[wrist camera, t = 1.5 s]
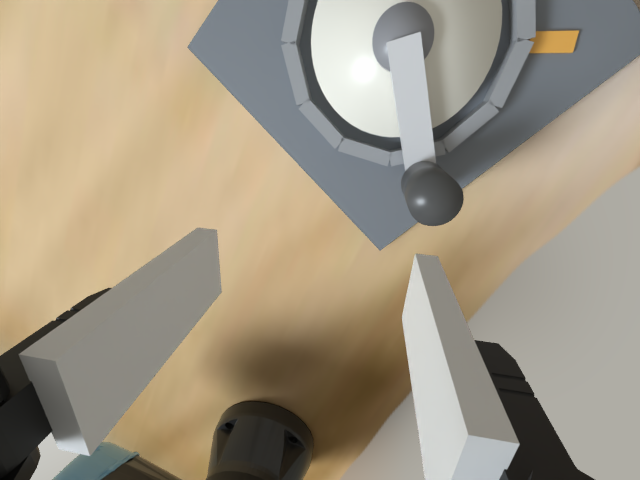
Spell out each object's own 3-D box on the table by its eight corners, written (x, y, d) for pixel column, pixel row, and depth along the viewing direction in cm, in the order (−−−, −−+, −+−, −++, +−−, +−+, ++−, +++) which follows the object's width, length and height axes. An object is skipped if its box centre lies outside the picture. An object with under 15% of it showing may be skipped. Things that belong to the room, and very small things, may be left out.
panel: (646, 43, 24) (674, 37, 22) (379, 246, 34) (380, 256, 31) (433, -309, 19) (440, -362, 17) (193, 49, 29) (178, 44, 26)
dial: (294, -30, 24) (258, -91, 17) (489, -106, 21) (557, -225, 13) (348, 209, 31) (340, 243, 24) (502, 179, 28) (551, 207, 20)
